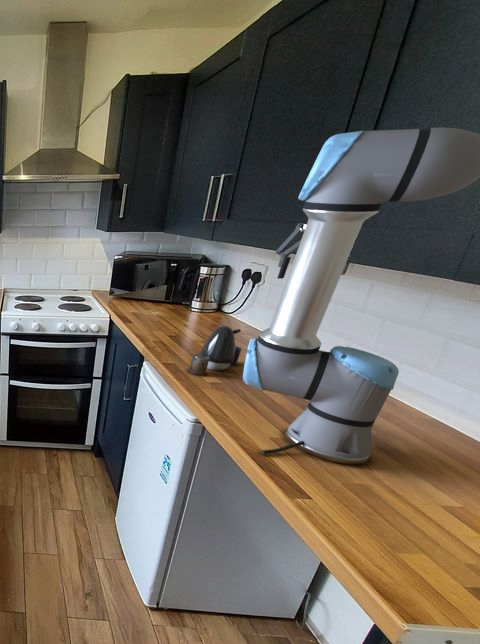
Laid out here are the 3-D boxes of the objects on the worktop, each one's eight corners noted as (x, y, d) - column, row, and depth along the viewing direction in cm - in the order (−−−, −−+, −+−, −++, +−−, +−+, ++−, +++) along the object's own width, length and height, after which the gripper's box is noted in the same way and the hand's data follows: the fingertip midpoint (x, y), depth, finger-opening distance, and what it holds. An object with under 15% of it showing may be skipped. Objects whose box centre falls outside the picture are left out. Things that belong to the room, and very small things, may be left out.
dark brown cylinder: (199, 376, 133) (204, 360, 131) (185, 371, 137) (190, 355, 135) (208, 374, 136) (213, 357, 133) (193, 369, 140) (198, 353, 137)
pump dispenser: (236, 374, 137) (251, 331, 131) (206, 372, 137) (219, 329, 131) (220, 363, 146) (232, 322, 140) (191, 362, 146) (203, 321, 140)
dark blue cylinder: (231, 366, 143) (237, 350, 141) (217, 362, 147) (222, 346, 145) (238, 364, 146) (244, 348, 143) (225, 360, 150) (229, 344, 147)
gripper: (397, 207, 106) (362, 288, 115) (289, 205, 125) (266, 274, 134) (387, 206, 102) (352, 290, 111) (278, 204, 122) (255, 276, 130)
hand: (305, 282), depth 123 cm, fingers open, 13 cm apart
